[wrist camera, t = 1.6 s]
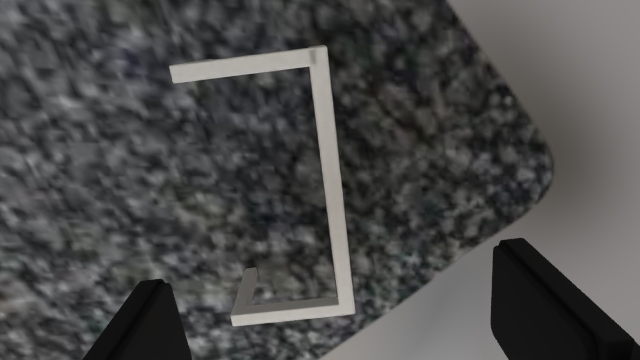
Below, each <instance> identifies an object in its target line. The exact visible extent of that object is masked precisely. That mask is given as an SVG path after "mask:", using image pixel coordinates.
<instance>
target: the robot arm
mask: <svg viewBox="0 0 640 360" xmlns="http://www.w3.org/2000/svg"><path fill="white" fill-rule="evenodd" d="M491 329H492V332H493V335H494V337H495V338H496V340H497V342H498V343H499V345H500V346H501V348H502V350H503V351H504V353H505V355H506V356H507V358H508V359H509V360H640V346H639V345H638V344H637V343H636V342H635V341H634V339H633V338H632V337H631V336H630V335H629V334H628V333H627V332H626V331H625V330H623V329H622V328H621V327H620V326H619V325H618V324H617V323H616V322H615V321H614V320H612V319H611V318H610V317H609V316H608V315H607V314H606V313H605V312H604V311H603V310H602V309H600V308H599V307H598V306H597V305H596V304H595V303H594V302H593V301H592V300H591V299H590V298H588V297H587V296H586V295H585V294H584V293H583V292H582V291H581V290H580V289H578V288H577V287H576V286H575V285H574V284H573V283H572V282H571V281H570V280H569V279H567V278H566V277H565V276H564V275H563V274H562V273H561V272H560V271H559V270H558V269H557V268H556V267H555V266H553V265H552V264H551V263H550V262H549V261H548V260H547V259H546V258H545V257H543V256H542V255H541V254H540V253H539V252H538V251H537V250H536V249H535V248H534V247H533V246H532V245H530V244H529V243H528V242H527V241H526V240H525V239H523V238H516V239H508V240H501V241H500V243H499V246H495V247H494V249H493V271H492V297H491ZM83 360H192V356H191V352H190V349H189V346H188V342H187V339H186V335H185V332H184V329H183V325H182V322H181V318H180V315H179V311H178V308H177V305H176V301H175V298H174V294H173V291H172V288H171V285H170V284H169V283H165V282H164V281H163V280H162V279H155V280H146V281H140V282H139V283H138V285H137V286H136V287H135V289H134V290H133V291H132V293H131V294H130V296H129V297H128V298H127V300H126V301H125V302H124V304H123V305H122V306H121V308H120V309H119V311H118V312H117V313H116V315H115V316H114V317H113V319H112V320H111V321H110V323H109V324H108V326H107V327H106V328H105V330H104V331H103V332H102V334H101V335H100V336H99V338H98V339H97V340H96V342H95V343H94V345H93V346H92V347H91V349H90V350H89V351H88V353H87V354H86V355H85V357H84V358H83Z"/></svg>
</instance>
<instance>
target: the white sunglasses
mask: <svg viewBox="0 0 640 360" xmlns="http://www.w3.org/2000/svg"><path fill="white" fill-rule="evenodd" d="M301 67H308V68H309V76H310V84H311V92H312V100H313V108H314V116H315V124H316V132H317V140H318V148H319V156H320V164H321V172H322V177H323V182H324V190H325V198H326V212H327V220H328V228H329V236H330V244H331V252H332V260H333V268H334V276H335V284H336V292H337V297H328V298H319V299H309V300H299V301H290V302H280V303H270V304H261V305H251V301H252V297H253V293H254V289H255V285H256V281H257V277H258V274H257V269H256V267H254V268H246V269H245V272H244V275H243V278H242V282H241V285H240V288H239V291H238V294H237V298H236V301H235V304H234V307H233V309H232V313H231V320H232V324H233V326H241V325H251V324H261V323H271V322H281V321H291V320H300V319H310V318H320V317H330V316H340V315H348V314H355V305H354V289H353V279H352V270H351V260H350V251H349V241H348V232H347V223H346V213H345V205H344V199H343V192H342V183H341V166H340V157H339V147H338V138H337V128H336V119H335V110H334V100H333V91H332V81H331V72H330V62H329V60H328V52H327V47H326V46H325V45H317V46H310V47H309V48H303V49H296V50H288V51H280V52H272V53H264V54H256V55H248V56H240V57H232V58H224V59H216V60H213V59H207V60H199V61H194V62H188V63H182V64H177V65H171V66H170V71H171V75H172V79H173V83H181V82H189V81H197V80H205V79H213V78H221V77H229V76H237V75H245V74H253V73H261V72H269V71H277V70H285V69H293V68H301ZM250 305H251V306H250Z"/></svg>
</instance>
